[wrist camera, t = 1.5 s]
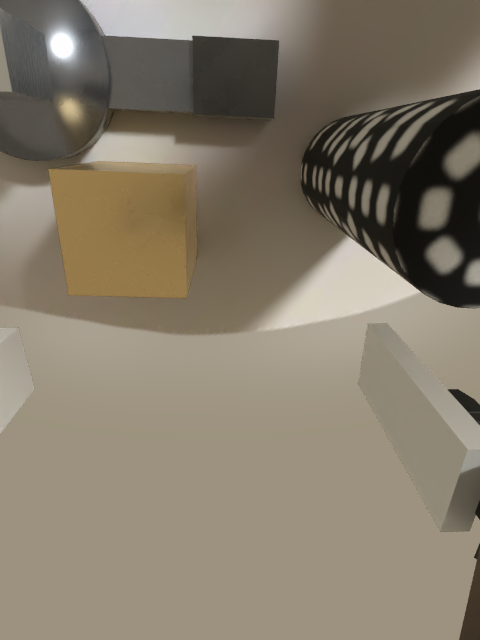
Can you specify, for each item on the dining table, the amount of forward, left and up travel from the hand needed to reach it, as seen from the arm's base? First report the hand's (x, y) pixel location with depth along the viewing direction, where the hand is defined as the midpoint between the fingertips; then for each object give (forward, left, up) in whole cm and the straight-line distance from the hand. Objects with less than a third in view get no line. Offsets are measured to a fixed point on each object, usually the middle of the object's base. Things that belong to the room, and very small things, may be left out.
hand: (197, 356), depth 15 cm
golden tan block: (-2, -6, -22) cm, 23 cm away
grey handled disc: (-12, -8, -22) cm, 26 cm away
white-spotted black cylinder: (-6, +11, -22) cm, 25 cm away
